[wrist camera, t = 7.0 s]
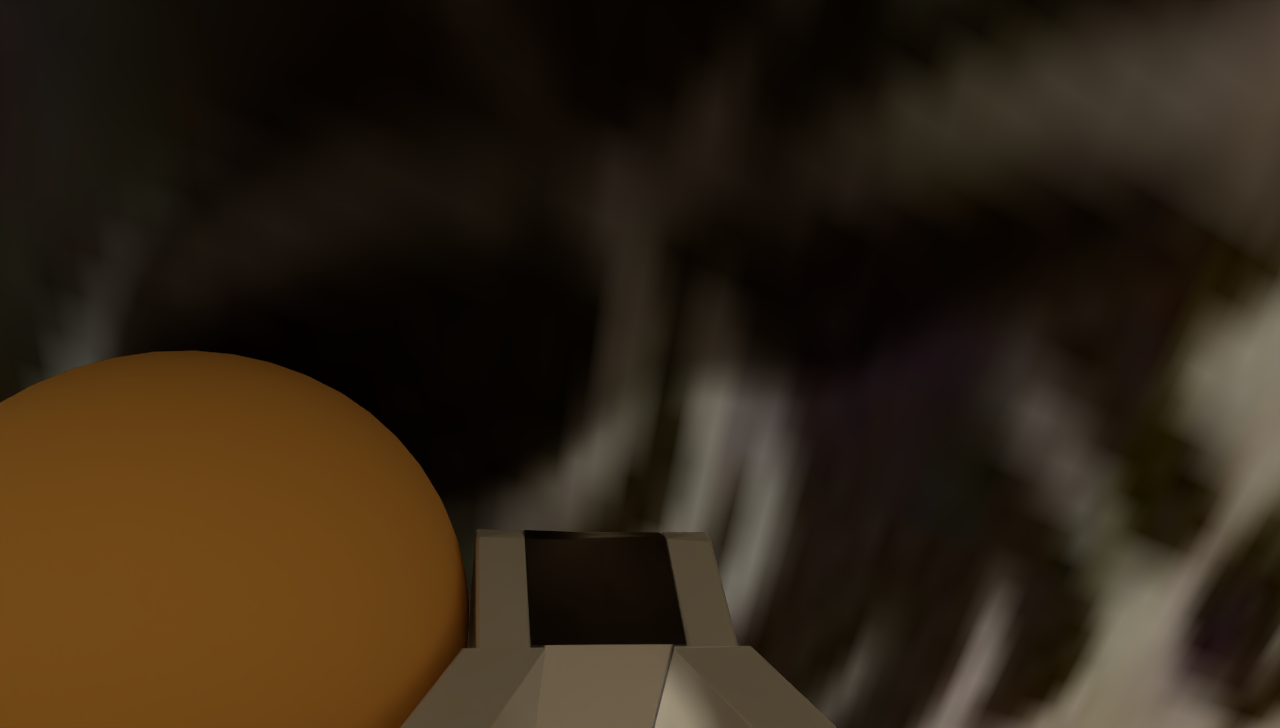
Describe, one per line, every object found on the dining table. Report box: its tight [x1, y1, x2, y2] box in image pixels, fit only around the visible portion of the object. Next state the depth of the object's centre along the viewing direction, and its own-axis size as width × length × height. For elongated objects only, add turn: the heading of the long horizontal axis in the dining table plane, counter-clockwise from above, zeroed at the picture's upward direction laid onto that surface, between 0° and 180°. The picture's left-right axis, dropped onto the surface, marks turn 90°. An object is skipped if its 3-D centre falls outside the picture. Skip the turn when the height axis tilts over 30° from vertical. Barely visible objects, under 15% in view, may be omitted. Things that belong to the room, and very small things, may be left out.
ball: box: [0, 351, 469, 728], centre depth 11 cm, size 6×6×6 cm
